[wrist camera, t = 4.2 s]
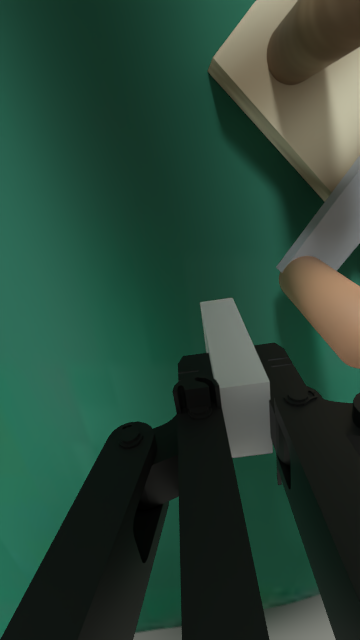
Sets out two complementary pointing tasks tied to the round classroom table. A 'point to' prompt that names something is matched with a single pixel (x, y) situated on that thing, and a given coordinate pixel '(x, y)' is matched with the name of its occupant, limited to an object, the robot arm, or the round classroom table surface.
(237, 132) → the round classroom table surface
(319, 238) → the crank handle
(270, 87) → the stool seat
